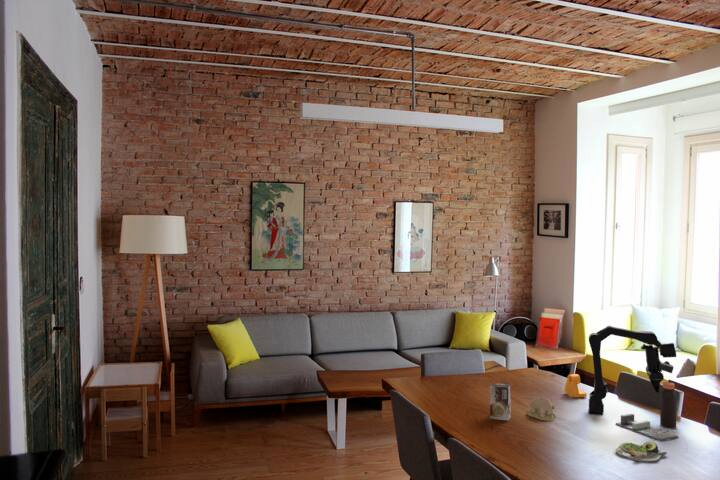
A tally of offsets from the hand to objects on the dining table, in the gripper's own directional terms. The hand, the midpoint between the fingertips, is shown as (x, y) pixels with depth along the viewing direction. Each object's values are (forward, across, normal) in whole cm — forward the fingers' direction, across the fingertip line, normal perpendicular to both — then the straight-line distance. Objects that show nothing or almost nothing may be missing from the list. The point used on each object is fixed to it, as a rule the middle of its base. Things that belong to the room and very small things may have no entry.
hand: (656, 390), depth 294 cm
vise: (+13, -22, +8) cm, 27 cm away
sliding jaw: (+12, -17, +12) cm, 24 cm away
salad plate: (+13, -54, +13) cm, 57 cm away
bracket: (+10, +30, +39) cm, 50 cm away
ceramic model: (+8, -17, +54) cm, 57 cm away
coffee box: (+6, -27, +72) cm, 77 cm away
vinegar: (+15, -10, -2) cm, 18 cm away
